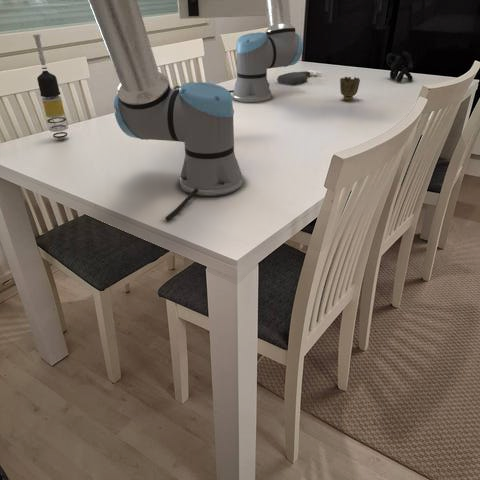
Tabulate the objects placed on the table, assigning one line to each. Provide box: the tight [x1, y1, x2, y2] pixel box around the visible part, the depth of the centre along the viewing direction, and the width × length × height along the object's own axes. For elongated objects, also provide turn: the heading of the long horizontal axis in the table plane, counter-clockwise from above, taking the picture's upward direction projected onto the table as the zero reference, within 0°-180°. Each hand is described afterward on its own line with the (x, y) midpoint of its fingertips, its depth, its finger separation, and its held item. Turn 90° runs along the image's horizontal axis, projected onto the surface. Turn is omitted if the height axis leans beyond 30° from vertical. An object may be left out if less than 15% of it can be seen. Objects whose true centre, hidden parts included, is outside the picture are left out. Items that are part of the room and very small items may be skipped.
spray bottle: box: [276, 69, 322, 86], centre depth 204 cm, size 3×11×25 cm
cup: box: [339, 76, 361, 102], centre depth 171 cm, size 8×7×8 cm
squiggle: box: [385, 51, 414, 83], centre depth 198 cm, size 11×10×15 cm
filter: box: [32, 33, 69, 140], centre depth 132 cm, size 6×6×30 cm
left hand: (193, 14), depth 120 cm, fingers closed on bar, 5 cm apart
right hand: (351, 23), depth 139 cm, fingers open, 13 cm apart
